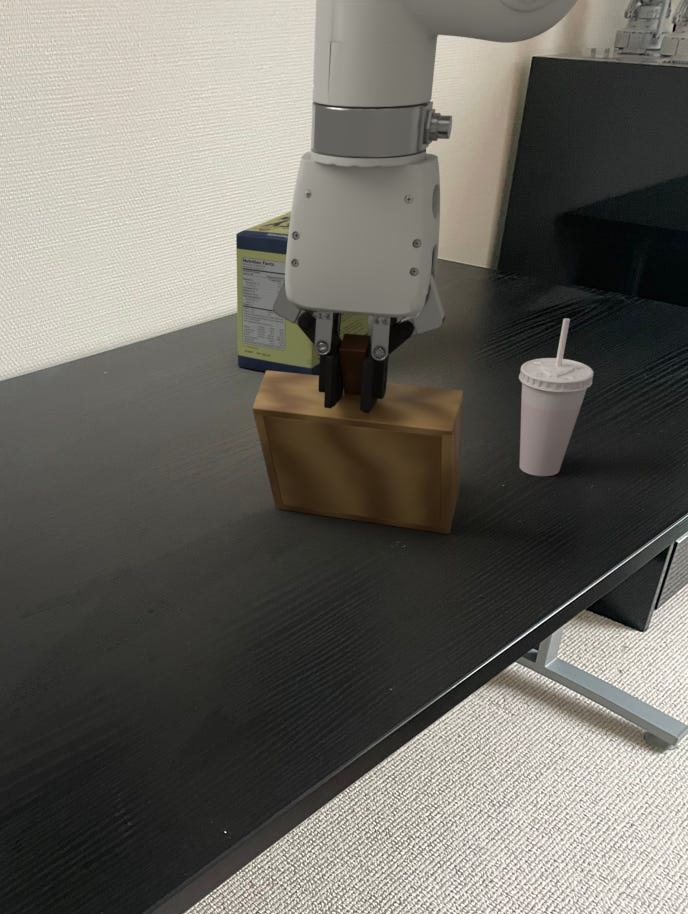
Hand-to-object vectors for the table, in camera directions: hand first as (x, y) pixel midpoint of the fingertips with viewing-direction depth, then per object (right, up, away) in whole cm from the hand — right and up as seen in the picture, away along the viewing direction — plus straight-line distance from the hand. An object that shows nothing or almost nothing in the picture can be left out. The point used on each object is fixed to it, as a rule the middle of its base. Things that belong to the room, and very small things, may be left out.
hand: (351, 402), depth 74 cm
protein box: (+1, +17, +48) cm, 51 cm away
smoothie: (+21, -2, +20) cm, 29 cm away
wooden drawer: (+1, -3, +4) cm, 5 cm away
